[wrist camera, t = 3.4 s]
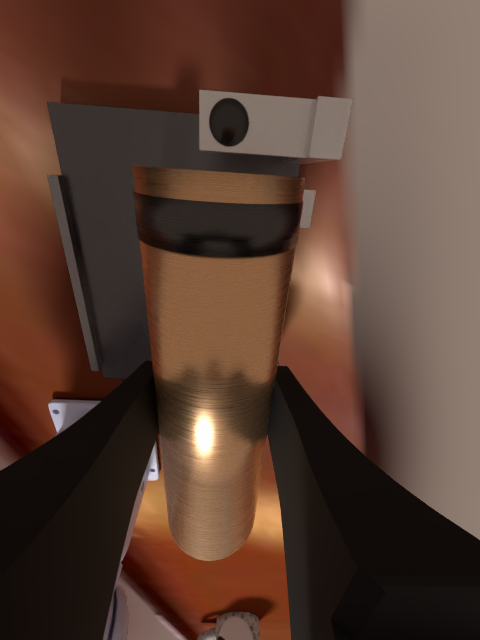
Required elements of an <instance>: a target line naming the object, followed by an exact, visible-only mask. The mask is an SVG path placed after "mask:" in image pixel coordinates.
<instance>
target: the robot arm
mask: <svg viewBox="0 0 480 640" xmlns="http://www.w3.org/2000/svg"><path fill="white" fill-rule="evenodd" d="M48 407H49V410H50V413H51V416H52V419H53V422H54V425H55V428H56V431H57V434H56V436H55V437H54V438H52V439H51V440H49V441H48V442H46V443H45V444H43V445H42V446H40V447H38V448H37V449H35V450H34V451H32V452H30V453H29V454H27V455H26V456H24V457H22V458H21V459H19V460H18V461H16V462H14V463H13V464H11V465H10V466H8V467H6V468H4V469H3V470H1V471H0V640H126V639H127V633H128V623H129V612H128V605H127V596H126V593H125V590H124V588H123V587H122V586H120V585H117V582H118V579H119V576H120V572H121V569H122V564H121V561H122V560H123V558H124V556H125V554H126V552H127V549H128V546H129V543H130V539H131V536H132V532H133V529H134V525H135V522H136V518H137V515H138V511H139V508H140V504H141V501H142V497H143V494H144V490H145V487H146V483H147V480H157V479H158V478H159V474H160V473H159V464H158V455H157V446H156V439H157V436H158V433H159V424H158V414H157V405H156V395H155V385H154V376H153V366H152V361H145V362H143V363H142V364H141V365H140V366H139V367H138V368H137V369H136V370H135V371H134V372H133V373H132V374H131V375H130V376H129V377H127V378H126V379H125V380H124V381H123V382H122V383H121V384H120V385H119V386H118V387H117V388H116V389H114V390H113V391H112V392H111V393H110V394H109V395H108V396H107V397H106V398H104V399H103V400H102V401H88V400H61V399H54V400H51V402H50V403H49V404H48ZM267 434H268V439H269V445H270V450H271V456H272V461H273V466H274V472H275V477H276V482H277V488H278V493H279V500H280V507H281V518H282V528H283V539H284V550H285V562H286V573H287V586H288V599H289V612H290V627H291V640H480V540H479V539H477V538H476V537H474V536H473V535H471V534H470V533H468V532H467V531H465V530H464V529H462V528H461V527H459V526H458V525H456V524H455V523H453V522H452V521H450V520H449V519H447V518H446V517H444V516H443V515H441V514H439V513H438V512H437V511H435V510H434V509H432V508H431V507H429V506H428V505H427V504H425V503H424V502H423V501H421V500H420V499H418V498H417V497H416V496H414V495H413V494H412V493H410V492H409V491H407V490H406V489H405V488H404V487H402V486H401V485H400V484H398V483H397V482H396V481H394V480H393V479H392V478H391V477H390V476H388V475H387V474H386V473H385V472H384V471H382V470H381V469H380V468H379V467H378V466H376V465H375V464H374V463H373V462H372V461H370V460H369V459H368V458H367V457H366V456H365V455H364V454H362V453H361V452H360V451H359V450H358V449H357V448H356V447H355V446H354V445H353V444H352V443H351V442H350V441H349V440H348V439H347V438H346V437H345V436H344V435H343V434H342V433H341V432H340V431H339V430H338V429H337V428H336V427H335V426H334V425H333V424H332V423H331V421H330V420H329V419H328V418H327V417H326V416H325V415H324V414H323V412H322V411H321V410H320V409H319V408H318V406H317V405H316V404H315V403H314V401H313V400H312V399H311V398H310V396H309V395H308V394H307V393H306V391H305V390H304V389H303V387H302V386H301V385H300V383H299V382H298V380H297V379H296V378H295V376H294V375H293V373H292V372H291V371H290V369H289V368H288V367H287V366H277V372H276V379H275V386H274V392H273V399H272V406H271V412H270V419H269V426H268V432H267Z"/></svg>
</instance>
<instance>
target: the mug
mask: <svg viewBox="0 0 480 640" xmlns="http://www.w3.org/2000/svg"><path fill="white" fill-rule="evenodd" d="M197 640H260V631H259V618H258V617H257V616H256V615H255V614H252V613H249V612H240V611H237V612H228V613H225V614H222V615H220V616H219V617H218V618H217V624H216V628H212V629H210V630H207V631H205V632H202V633H201V634H200V635H199V636H198V639H197Z"/></svg>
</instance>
